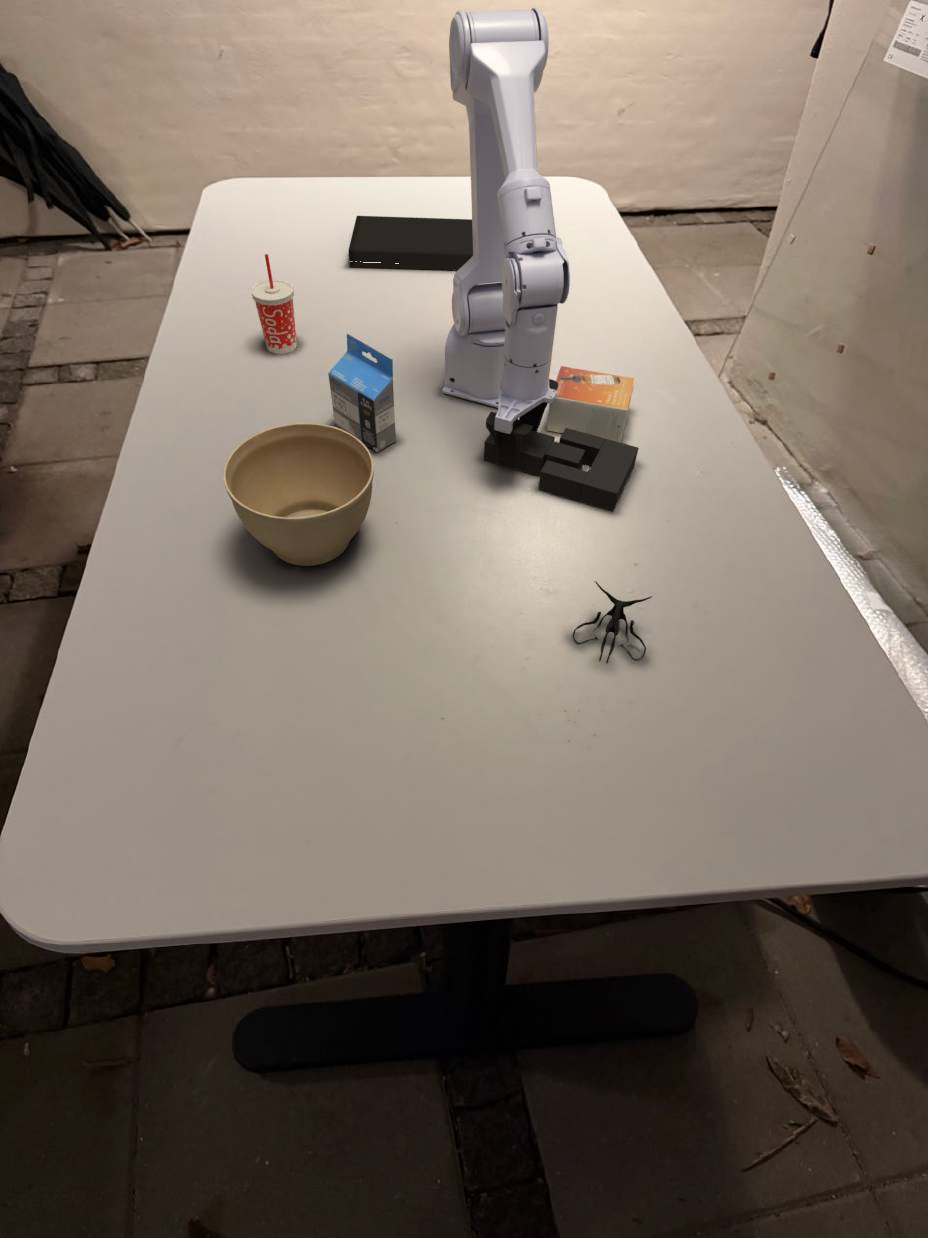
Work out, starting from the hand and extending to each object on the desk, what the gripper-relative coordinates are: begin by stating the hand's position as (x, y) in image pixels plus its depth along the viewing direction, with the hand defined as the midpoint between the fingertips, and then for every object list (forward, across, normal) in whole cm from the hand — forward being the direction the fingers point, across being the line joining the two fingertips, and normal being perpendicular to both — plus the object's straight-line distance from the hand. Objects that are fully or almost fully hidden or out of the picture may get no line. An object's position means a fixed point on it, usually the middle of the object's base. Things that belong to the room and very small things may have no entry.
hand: (518, 447), depth 102 cm
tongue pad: (+2, 0, -2) cm, 3 cm away
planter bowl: (+2, -25, +17) cm, 30 cm away
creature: (+2, -25, -20) cm, 32 cm away
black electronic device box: (+2, +48, +38) cm, 61 cm away
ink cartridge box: (+2, -4, +21) cm, 21 cm away
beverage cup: (+2, +10, +43) cm, 44 cm away
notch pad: (+2, 0, -10) cm, 10 cm away
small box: (-1, +13, -11) cm, 17 cm away
